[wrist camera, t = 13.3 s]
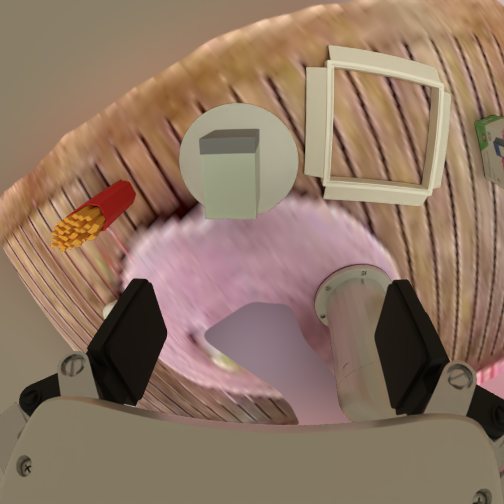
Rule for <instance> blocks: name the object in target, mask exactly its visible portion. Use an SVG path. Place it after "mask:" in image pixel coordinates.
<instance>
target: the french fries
mask: <svg viewBox="0 0 504 504" xmlns="http://www.w3.org/2000/svg"><path fill="white" fill-rule="evenodd" d="M135 195H136V193H135V192H134V190H133V188H132V186H131V184H130V182H126V181H122V180H120V181H118V182H116V183H114V184H113V185H111V186H109V187H108V188H106V189H105V190H103V191H102V192H100V193H99V194H97V195H96V196H95V197H93V198H92V199H90V200H89V201H87V202H86V203H85V204H83V205H82V206H80V207H79V208H78V209H76V210H75V211H74V212H72V213H71V214H70V215H68V216H67V217H66V218H65V219H63V220H62V221H61V222H59V223H57V224H58V225H57V226H55V227H54V229H55V231H53V232H52V233H51V234H52V235H53V236H56V237H55V238H53V239H51V240H52V241H54V243H53V244H51V245H50V246H52V247H53V248H55V247H57V246H58V245H59V248H60V249H59V250H60V251H62V252H64V251H66V249H67V248H68V249H71V248H72V247H73V246H77V247H79V246H81V245H82V243H83V242H84V241H86V240H89V241H91V240H93V239H94V238H96V237H97V235H98V234H99V233H100V232H101V231H105V230H106V229H107V228H108V227H109V226H110V225H111V224H112V223H113V222H114V221H115V220H116V219H117V218H118V217H119V216H120V215H121V214H122V213H123V212H124V211H125V210H126V209H127V208H128V207H129V206H130V205H131V204H132V203H133V201H134V198H135ZM58 234H60V235H58ZM57 235H58V236H57Z"/></svg>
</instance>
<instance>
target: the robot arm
mask: <svg viewBox="0 0 504 504" xmlns="http://www.w3.org/2000/svg"><path fill="white" fill-rule="evenodd" d="M315 311H316V314H317V317H318V318H319V320H320V321H321V322H322V323H323V324H324V325H326V326H327V327H328V328H329V334H330V341H331V348H332V355H333V362H334V370H335V378H336V386H337V393H338V401H339V405H340V408H341V410H342V412H343V413H344V415H345V416H346V417H347V418H348V419H349V420H350V421H352V423H340V424H324V425H261V424H243V423H230V422H220V421H211V420H203V419H195V418H188V417H182V416H176V415H170V414H164V413H159V412H154V411H149V410H144V409H140V408H135V407H130V406H126V405H124V404H128V405H132V406H136V404H137V401H138V400H141V399H142V397H143V394H144V392H145V389H146V387H147V384H148V382H149V379H150V377H151V374H152V372H153V369H154V367H155V364H156V362H157V359H158V357H159V354H160V352H161V350H162V347H163V345H164V342H165V340H166V338H167V329H166V326H165V323H164V320H163V317H162V314H161V311H160V308H159V305H158V302H157V298H156V295H155V292H154V289H153V286H152V284H151V283H149V282H148V280H147V279H136V278H134V279H132V281H131V282H130V283H129V285H128V286H127V288H126V289H125V291H124V292H123V293H122V295H121V296H120V298H119V299H118V301H117V302H116V304H115V305H114V307H113V308H112V310H111V311H110V313H109V314H108V316H107V317H106V319H105V320H104V322H103V323H102V325H101V326H100V328H99V330H98V331H97V333H96V334H95V336H94V338H93V339H92V341H91V342H90V344H89V346H88V347H87V349H88V351H87V353H86V354H85V353H84V352H81V351H74V352H71V353H69V354H67V355H65V356H64V357H63V358H62V359H61V361H60V362H59V364H58V370H57V371H58V373H56V374H54V375H52V376H49V377H47V378H45V379H43V380H40V381H38V382H36V383H34V384H31V385H30V386H28V387H26V388H25V389H24V390H23V391H22V393H21V395H20V398H19V404H18V403H17V402H15V403H14V404H13V405H12V406H10V407H9V408H8V409H7V410H6V411H4V412H3V413H2V414H1V415H0V467H1V469H2V471H3V473H4V476H3V479H2V482H1V485H0V504H504V399H502V398H500V397H498V396H496V395H494V394H493V393H491V392H489V391H487V390H486V389H484V388H482V387H480V386H478V385H477V384H476V381H477V378H476V373H475V372H474V370H473V368H472V367H471V366H470V365H468V364H467V363H465V362H463V361H452V362H450V361H449V358H448V356H447V354H446V351H445V349H444V347H443V345H442V343H441V340H440V338H439V336H438V334H437V332H436V330H435V328H434V326H433V324H432V322H431V320H430V318H429V316H428V314H427V313H426V312H425V310H424V308H423V307H422V305H421V303H420V301H419V299H418V297H417V295H416V293H415V291H414V290H413V288H412V286H411V284H410V282H409V281H408V280H407V279H406V280H393V282H392V281H391V279H390V278H389V276H388V275H387V274H386V273H385V272H384V271H383V270H381V269H379V268H377V267H374V266H370V265H354V266H350V267H346V268H343V269H341V270H339V271H337V272H335V273H334V274H332V275H331V276H329V277H328V278H327V279H326V280H325V281H324V282H323V283H322V285H321V286H320V287H319V289H318V291H317V293H316V297H315Z"/></svg>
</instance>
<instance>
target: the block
mask: <svg viewBox="0 0 504 504" xmlns="http://www.w3.org/2000/svg"><path fill="white" fill-rule="evenodd" d="M199 147H200V161H201V173H202V185H203V197H204V207H205V218H206V219H256V217H257V211H258V205H259V199H260V140H259V129H223V130H214V131H212V132H210V133H208V134H207V135H205V136H203V137H201V138H200V139H199Z"/></svg>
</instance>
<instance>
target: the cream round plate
mask: <svg viewBox="0 0 504 504" xmlns="http://www.w3.org/2000/svg"><path fill="white" fill-rule="evenodd" d="M223 129H259V140H260V199H259V205H258V211H257V215H258V214H262V213H264V212H266V211H268V210H270V209H272V208H273V207H275V206H276V205H277V204H279V203H280V202H281V201H282V200H283V199H284V198H285V197H286V195H287V194H288V193H289V191H290V190H291V188H292V186H293V184H294V182H295V179H296V175H297V171H298V152H297V147H296V144H295V141H294V139H293V137H292V135H291V133H290V131H289V130H288V128H287V127H286V125H285V124H284V123H283V122H282V121H281V120H280V119H279V118H278V117H276V116H275V115H274V114H272V113H271V112H269V111H268V110H266V109H263V108H261V107H258V106H255V105H252V104H246V103H231V104H225V105H221V106H218V107H215V108H213V109H210V110H209V111H207V112H205V113H204V114H202V115H201V116H200V117H198V118H197V119H196V120H195V121H194V122H193V123H192V125H191V126H190V127H189V129H188V130H187V132H186V134H185V136H184V138H183V141H182V144H181V148H180V154H179V165H180V171H181V174H182V178H183V180H184V182H185V185H186V186H187V188H188V190H189V191H190V193H191V194H192V195H193V196H194V197H195V198H196V199H197V200H198V201H199V202H200V203H201V204H202V205H204V197H203V185H202V173H201V161H200V147H199V139H200V138H201V137H203V136H205V135H207V134H208V133H210V132H212V131H214V130H223Z"/></svg>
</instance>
